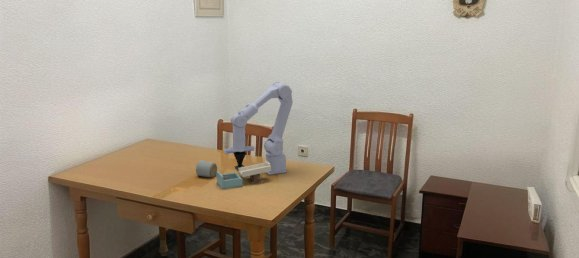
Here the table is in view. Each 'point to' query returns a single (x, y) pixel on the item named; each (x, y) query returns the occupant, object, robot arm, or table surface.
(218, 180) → the bin
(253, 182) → the lever stand
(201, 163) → the ceramic mug
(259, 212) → the table surface
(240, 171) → the cream piece
